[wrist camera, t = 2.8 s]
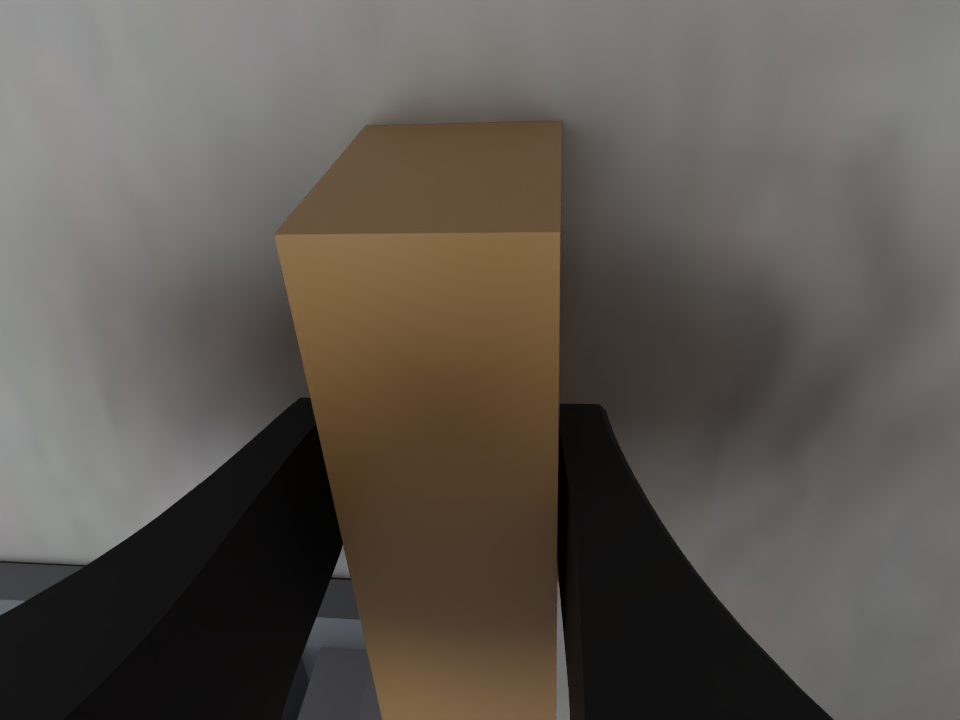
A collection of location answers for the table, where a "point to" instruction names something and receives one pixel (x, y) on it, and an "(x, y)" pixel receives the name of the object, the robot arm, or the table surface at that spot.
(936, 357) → the table surface
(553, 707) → the orange-brown rectangular block
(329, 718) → the display stand
